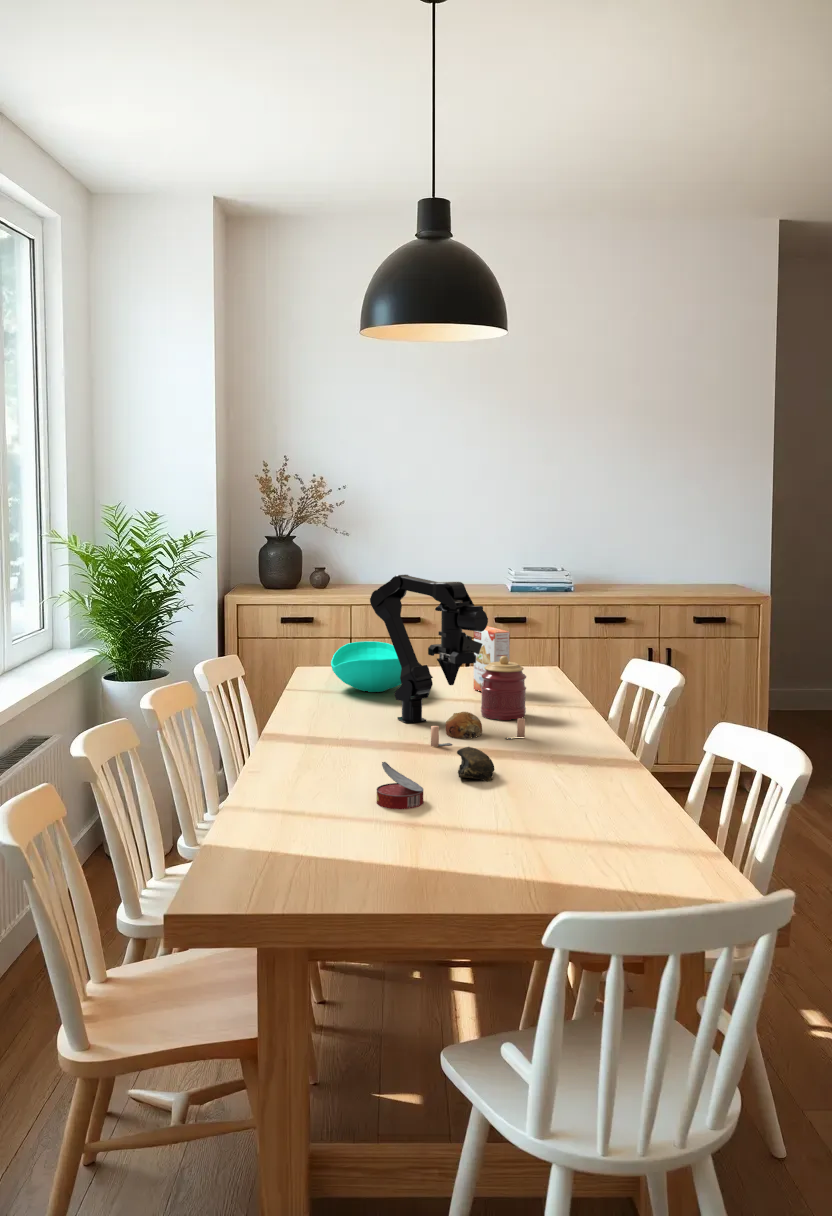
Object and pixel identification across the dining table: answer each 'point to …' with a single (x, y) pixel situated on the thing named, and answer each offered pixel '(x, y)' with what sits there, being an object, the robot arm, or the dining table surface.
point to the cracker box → (489, 651)
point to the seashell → (475, 764)
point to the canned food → (399, 791)
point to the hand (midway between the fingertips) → (451, 685)
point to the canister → (503, 690)
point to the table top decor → (367, 666)
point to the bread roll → (463, 725)
